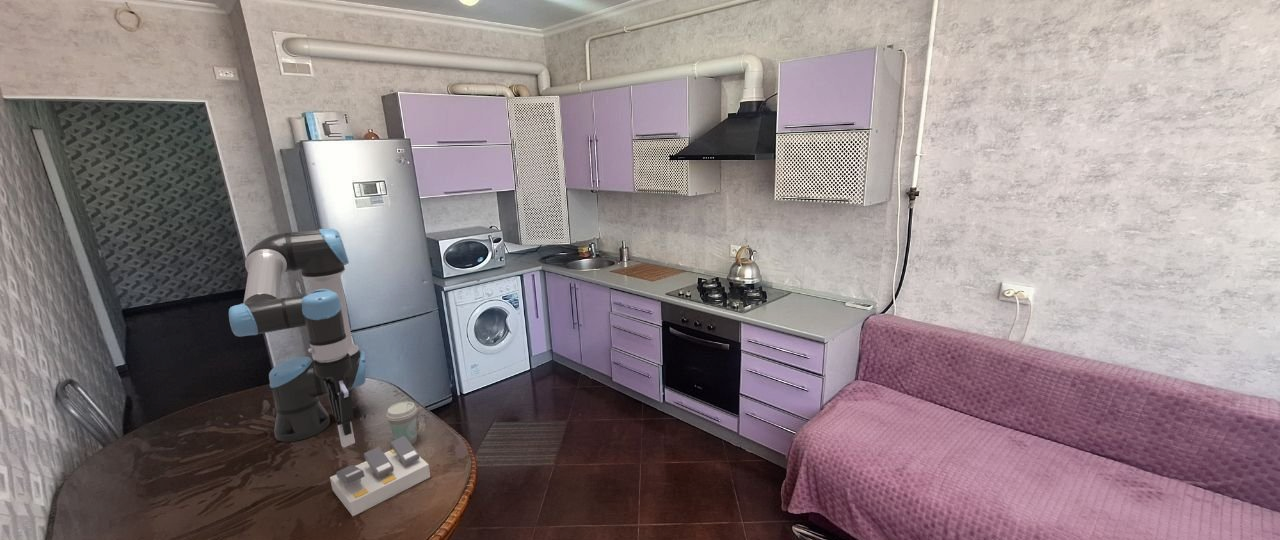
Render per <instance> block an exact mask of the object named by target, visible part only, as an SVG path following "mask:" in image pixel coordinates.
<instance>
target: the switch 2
mask: <svg viewBox="0 0 1280 540" xmlns="http://www.w3.org/2000/svg"><path fill="white" fill-rule="evenodd" d="M384 453H385V452H384V451H383V450H382V448H381V447H380V446H377V447H374V448H373V449H370V450H368V451H366V452H364V453H363V458H364V460H365V461H367V463H368V464H369V466H370V467H371V469H372V470H373V472H374V473H375V474H376V476H377V477H378V478H380V477H383V476H385V475H387V474H389V473H391V472H393V471H394V467H393V465H392V464H391V462H390V461H389V460H388V458H387V457H386V455H385V454H384Z"/></svg>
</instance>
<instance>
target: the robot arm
mask: <svg viewBox="0 0 1280 540" xmlns="http://www.w3.org/2000/svg"><path fill="white" fill-rule="evenodd" d="M347 264H348V265H349V264H350V261H349V258H348V255H347V252H346V248H345V247H344V243H343V240H342V237H341V234H340V232H339V231H338V229H335V228H318V229H310V230H308V229H307V230H302V231H301V230H300V231H291V232H280V233H276V234H272V235H271V236H268V237H266V238H264V239H261V241H259V242H257V244H255V245H254V246H253V247H252V248H251V249H250V250H249V252H248V253H247V254H246V258H245V262H244V267H245V271H246V272H247V278H246V284H245V285H246V287H245V292H244V297H243V303H240V304H236V305H233V306H230V308H229V309H228V319H229V320H228V321H229V325H230V329H231V332H232V333H233V334H234V336H236V337H238V338H239V337H247V336H257V335H261V334H265V333H266V334H267V333H272V332H276V331H282V330H287V329H295V328H299V327H300V328H301V327H305V329H306V333H307V336H308V342H309V347H310V348H308V349H307V351H308V353H311V356H312V359H313V360H312V359H311V357H310V356H306V355H305V356H298V357H294V358H293V357H292V358H290V359H287V360H285V361H283V362H281V363H280V362H279V364H277V365H276V366H274V367H273V368H272V369H271V370H270V371H269V373H268V380H269V387H270V389H271V393H272V397H273V401H274V406H275V410H276V418H275V423H274V427H273V428H274V429H273V433H274V437H275V439H276V441H279V442H284V443H290V442H298V441H302V440H305V439H309V438H311V437H314V436H316V435H317V434H319V433H321V432H323V431H324V430H325V429H327V427H328V426H330V424H331V420H330V415H329V413H328V412H327V410H326V409H325V408H324V406H323V405H322V403H321V402H320V398H319V397H320V396H325V395H327V397H328V402H329V406H330V410H331V415H332V416H333V417H334V419H335V421H337V422H335V425H336V426H337V430H338V434H339V435H338V436H339V441H340V446H341V447H342V448H343V449H344V448H346V447H348V446H351V445H353V444H356V439H355V435H354V429H353V424H352V422H353V421H355V417H354V408H353V398H352V397H353V390H352V389H354V388H357V387H361V386H363V385H364V384H365V383H366V379H367V367H366V366H367V364H366V352H365V350H361V349H360V347H359V345H357V344H355V343H353V338H352V332H351V327H350V322H349V316H348V310H347V304H346V300H345V299H346V298H345V294H344V288H343V281H342V278H341V276H342V274H343V273H344V272H345V270H346V267H345V266H346V265H347ZM295 271H297V272H298V271H300V272H301V273H300V274H301V277H302V278H305V279H306V280H308V283H309V288H310V293H307V294H302V295H295V296H289V297H282V294H283V293H282V291H283V290H282V289H283V275H284V274H285V273H286V272H287V273H288V272H295Z"/></svg>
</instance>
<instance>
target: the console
mask: <svg viewBox="0 0 1280 540" xmlns="http://www.w3.org/2000/svg"><path fill="white" fill-rule="evenodd" d="M383 453H384V454H385V455H386V457H387V458H388V460H389V461H390V462H391V464H392V465H393V467H394V471H393V472H391V473H389V474H387V475H385V476H383V477H380V478H378V477H377V476H376V474H375V473H374V472H373V470H372V469H371V467H370V466H369V464H368V463H367V461H366V460H365V461H363V462H361V463H359V464H357V465H354V466H355V467H357V468H359V469H361V470H363V472H364V476H365V477H363V478H360V479H358V480H356V481H354V482H352V483H350V484H346V483H345V482H343V481H342V480H340V479H339V478H337V474H334V475H331V476H330V477H329V480H330V484H331V489H332V492H333V493H334V494H335V496H337V498H338V499H339V501H340V502H341V503H342V505H344V507H345V508H346V509H347V511H348V512H349V513H350V514H351V516H352V517H354V516H355V517H356V516H357V515H359V514H360V513H363V512H364V511H366V510H368V509H370V508H373V507H374V506H377V505H379V504H381V503H383V502H384V501H386V500H388V499H390V498H392V497H395V496H396V495H398V494H400V493H402V492H404V491H406V490H407V489H410V488H412V487H414V486H416V485H417V484H419V483H421V482H424V481H425V480H427V479H429V478H431V473H430V472H431V471H430V465H429V463H428V462H427V461H426V460H424V459H423V458H422V457H421V456H420V455H419V459H418V460H416V461H414V462H412V463H410V464H408V465H406V466H405V465H404V464H403V462H402V461H401V460H400V458H399V457H398V456H397V454H396V453H395V452H394V450H393V449H392V448H391V449H390V450H387V451H385V452H383Z"/></svg>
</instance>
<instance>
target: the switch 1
mask: <svg viewBox="0 0 1280 540" xmlns="http://www.w3.org/2000/svg"><path fill="white" fill-rule="evenodd" d="M355 466H356V465H354V464H351V465H349V466H346V467H344V468H341V469H340V470H338V471H335V473H336V474H337V478H339V479H340V480H342V481H343V482H345V483H346V484H350V483H352V482H354V481H356V480H358V479H360V478H363V477H365V476H364V472H363V470H361V469H359V468H357V467H355ZM336 474H335V475H336Z"/></svg>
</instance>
